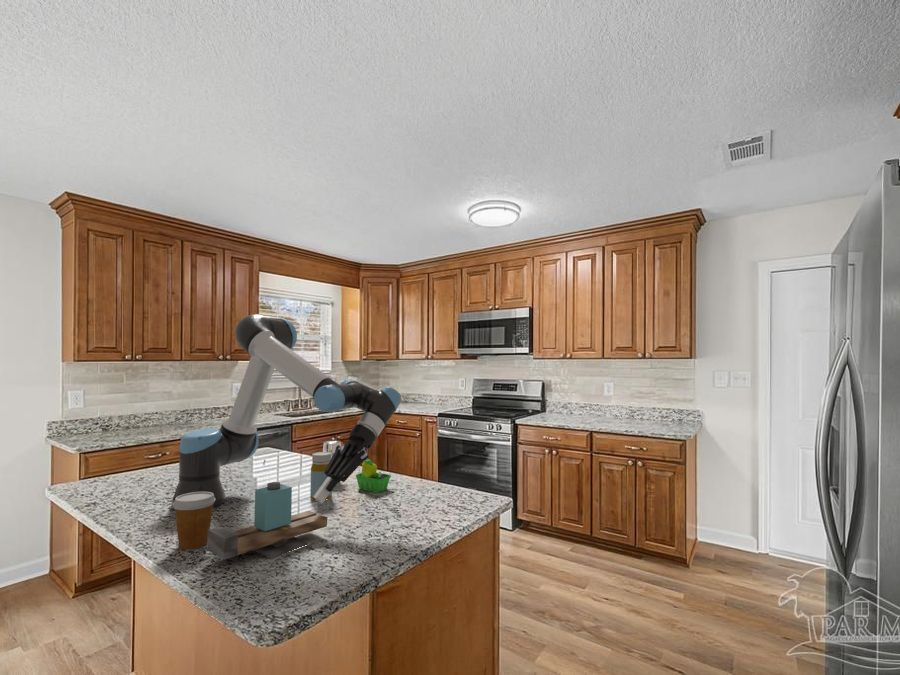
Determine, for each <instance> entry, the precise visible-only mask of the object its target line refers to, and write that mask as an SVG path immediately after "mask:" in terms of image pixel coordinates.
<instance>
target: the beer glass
mask: <svg viewBox="0 0 900 675" xmlns="http://www.w3.org/2000/svg"><path fill="white" fill-rule="evenodd" d="M338 445H339V446H340V447H341V446H342V442H341V441H340V440H327V441H323V448H322V452H330V453H331V458H332V456H333V455H334V453H335V449H336V446H338Z"/></svg>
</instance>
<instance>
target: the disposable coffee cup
mask: <svg viewBox="0 0 900 675" xmlns="http://www.w3.org/2000/svg"><path fill="white" fill-rule="evenodd" d="M215 500H216V498H215V497H214V494H213V493H211V492H192V493H187V494H183V495H180V496H178V497H176V498H175V501H174V503H173V506H174V508H175V510H174V513H175V514H174V515H175V523H176V531H177V541H178V542H177V543H178V548H179V549H180V550H195V549H199V548H202V547H204V546H207V539H208V530H209V529H211V528H210V527H211V522H212V516H213V509H214V507H213V504H214V501H215Z"/></svg>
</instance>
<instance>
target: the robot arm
mask: <svg viewBox="0 0 900 675" xmlns="http://www.w3.org/2000/svg"><path fill="white" fill-rule="evenodd" d="M234 338H235V341H236V343H237V344H238V346H239V347H240V348H241V349H242V350H244V351H245V352H246V353H248V354H249V355H250V358H249V361H248V364H247V367H246V369H245V372H244V375H243V378H242V381H241V384H240V387H239V390H238V392H237V395H236V398H235V400H234V403H233V406H232V408H231V412H230V415H229V417H227V418H226V419H224V420H222V423H221V425H220V428H211V427H209V428H203V429H202V428H201V429H195V430H192V431H189V432H187V433H185V434H183V435H182V436H181V438H180V442H179V470H178V483H177V486H176V489H175V491H174V494H173V497H172V500H171V509H172V510H174V511H175V508H174V506H173V503H174V501H175V498H176V497H178V496H180V495H183V494H187V493H192V492H211V493H213V494H214V497H215V498H216V500H215V501H214V504H213V508H216V507H218V506H221V505H223V504H224V503H225V501H226V499H225V498H226V495H225V494H226V493H225V491H224V488H223V485H222V481H221V478H220V477H221V476H220V475H221V474H220V473H221V472H220V470H221V468H220V467H222V466H226V465H230V464H234V463H240V462H243V461H245V460H247V459H250V458H251V457H252V456H253V455H255V453H256V451H257V450H258V448H259V447H258V446H259V442H260V441H259V440H260V439H259V438H258V437H259V434H258V432H257V431H258V428H257V427H256V424H255V423H256V420H257V418H258V415H259V413H260V410H261V406H262V403H263V401H264V399H265V396H266V393H267V391H268V388H269V385H270V382H271V379H272V377H273V374H274V370H275V371H277V372H278V373H279V374H281V375H282V376H283V377H285V378H286V379H287V380H289V381H290V382H292V384H294V385H296V386H297V387H298V388H300V389H301V390H302V391H304V392H305V393H306V394H308V395H309V396H310V397H311V398H313V399H314V400H313V402H314V405H315V406H316V408H317V409H318V410H319V411H321V412H325V413H327V412H329V413H333V412H338V411H342V410H348V409H349V410H350V409H358V410H360V411H363V412H364V413H363V414H362V415H361V416H360V418H359V419H358V421H357V423H356V424H355V425H354V426H353V428H352V429H351V430H350V432H349V434H348V435H349V436H348V437H349V439H348V440H346V442H345V443H344V444H343V445H341V447H340V446H339V445H338V446H336V449H335V453H334V455H333V456H332V458H331V460H330V462H329V464H328V466H327V468H326V470H325V471H324V473H325V474H326V476H327V477H326V479H325V480H324V482H323V483H322V484H321V486H320V488H319V489H318V491H317V492H316V494H315V495H314V496H313V497H314V498H315V499H316V500H317V501H316V502H318V503H319V504H324V502H325V501H324V500H325V499H326V497H327V496H328V495H329V493H330V492H331V491H332V492H333V490H334V488H335V487H336V485H337V484H339V483H341V482H343V483H345V482H346V480H348V479H349V477H351V475H352V474H353V473H354V472H355V471H356V470H357V469H358V468H359V466H360V465H362V464H363V462H364V461H365V460H367V459H369V456H370V455H369V454H368V453H367V450H368V449H371V447H372V446H373V444H374V443H375V442H376V439H377V438H378V437H379V436H380V434H381V432H382V431H383V429H384V428H385V427H386V426H387V424H388V422H389V421H390V420H391V419H392V417H393V416H394V413H395V412H397V410H398V408H399V406H400V404H401V402H402V396H401V394H400V392H398V390H396V389H395V388H394V387H392V386H383V387H382V388H380V390H378V389H374V388H371V387H369V386H367V385H365V384H363V383H361V382H359V381H357V380H353V379H349V378H346V379H344V380H343V381H342V382H341V383H340V384H339V383H337V382H336V381H335V380H333V379H332V378H330V376H328V375H327V374H325V373H324V372H323V371H321V370H320V369H318V368H317V367H316V366H315V365H314V364H312V363H310V362H309V361H307V360H306V359H305V358H304V357H302V356H300V355H299V354H297V353H296V352H295V351H294V350H292V349H293V348H295V346H296V344H297V341H298V340H297V339H298V334H297V330H296V328H295V325H294V324H293V323H292V322H291V321H290V320H288V319H286V318H282V317H280V316H269V315H262V314H261V315H260V314H249V315H246V316H244V317H243V318H241V319H240V320H239V321H238V322H237V324H236V326H235V330H234Z"/></svg>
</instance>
